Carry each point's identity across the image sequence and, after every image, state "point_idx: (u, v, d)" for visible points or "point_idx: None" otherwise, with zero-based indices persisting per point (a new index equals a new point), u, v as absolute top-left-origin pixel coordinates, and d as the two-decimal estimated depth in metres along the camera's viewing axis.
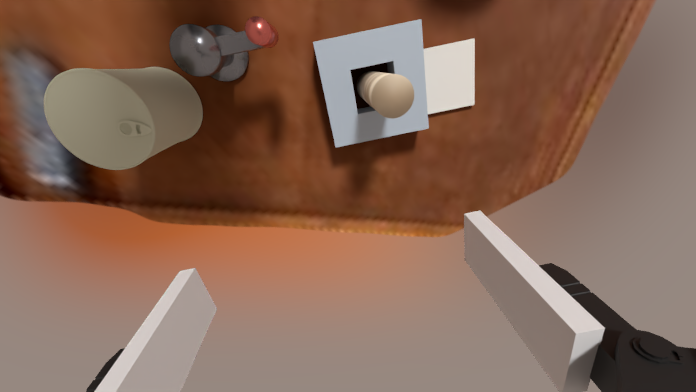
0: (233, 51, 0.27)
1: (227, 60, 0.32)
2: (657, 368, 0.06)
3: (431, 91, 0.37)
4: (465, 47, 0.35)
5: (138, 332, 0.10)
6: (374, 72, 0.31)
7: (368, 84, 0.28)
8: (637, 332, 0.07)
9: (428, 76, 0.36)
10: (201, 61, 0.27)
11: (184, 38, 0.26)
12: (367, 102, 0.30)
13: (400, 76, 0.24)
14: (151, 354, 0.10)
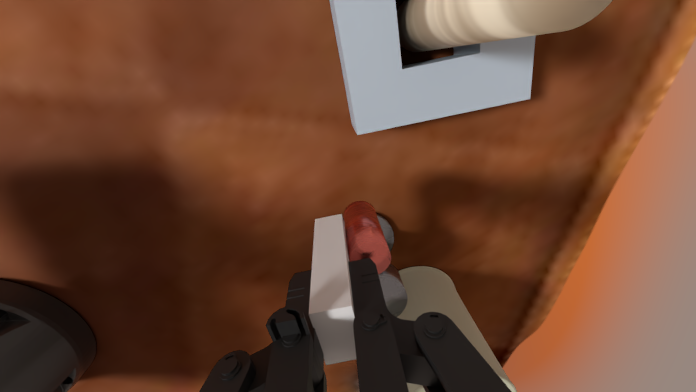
0: None
1: None
2: (374, 334, 0.09)
3: None
4: None
5: (312, 258, 0.12)
6: (417, 18, 0.15)
7: (467, 37, 0.12)
8: (363, 311, 0.09)
9: None
10: (389, 297, 0.20)
11: None
12: None
13: None
14: None
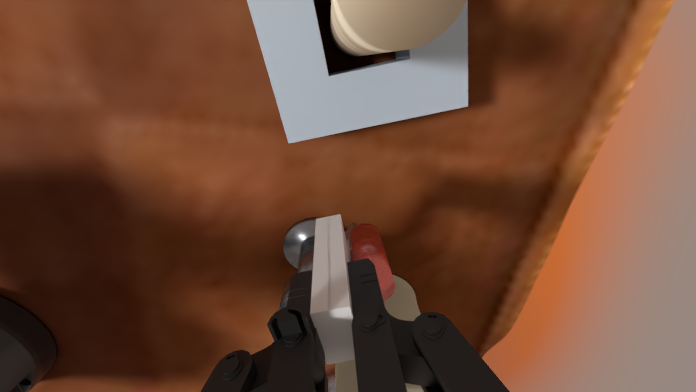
0: None
1: None
2: (372, 334, 0.09)
3: None
4: None
5: (314, 258, 0.12)
6: (331, 24, 0.15)
7: (358, 48, 0.11)
8: (361, 311, 0.09)
9: None
10: None
11: None
12: None
13: None
14: None
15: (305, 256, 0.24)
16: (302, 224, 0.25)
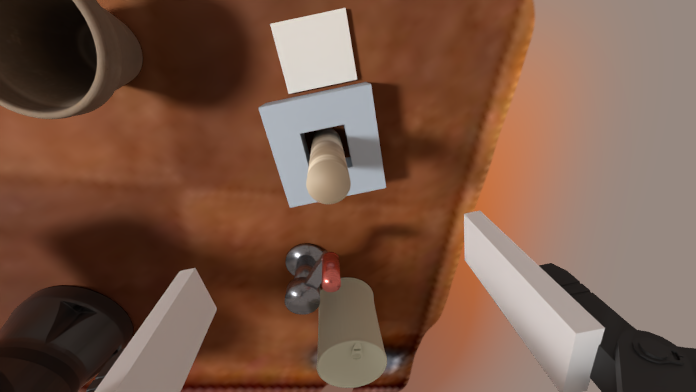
0: (320, 282, 0.35)
1: (309, 264, 0.40)
2: (657, 368, 0.06)
3: (330, 73, 0.32)
4: (281, 34, 0.30)
5: (138, 332, 0.10)
6: None
7: None
8: (637, 332, 0.07)
9: (314, 78, 0.32)
10: (310, 302, 0.36)
11: (292, 300, 0.35)
12: None
13: (308, 179, 0.23)
14: (151, 354, 0.10)
15: (299, 268, 0.39)
16: (297, 248, 0.41)
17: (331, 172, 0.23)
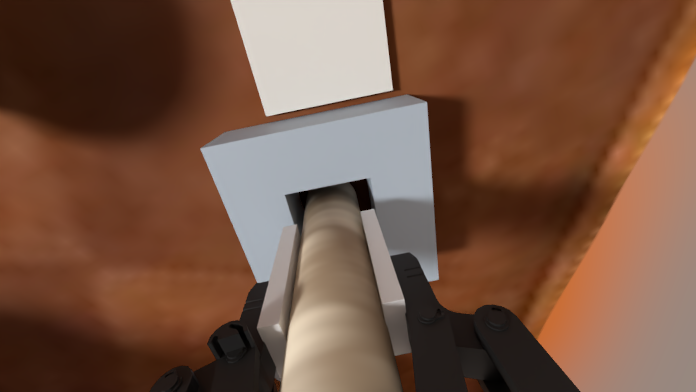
0: None
1: None
2: (430, 327, 0.08)
3: (342, 78, 0.17)
4: (247, 2, 0.15)
5: (273, 268, 0.12)
6: None
7: None
8: (419, 303, 0.09)
9: (313, 88, 0.17)
10: None
11: None
12: None
13: None
14: (290, 283, 0.12)
15: None
16: None
17: None
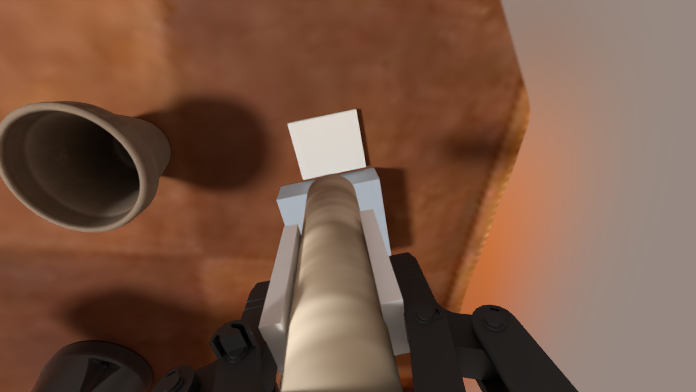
0: None
1: None
2: (429, 327, 0.08)
3: (341, 162, 0.35)
4: (297, 132, 0.33)
5: (274, 268, 0.12)
6: None
7: None
8: (417, 303, 0.09)
9: (326, 167, 0.35)
10: None
11: None
12: None
13: None
14: (291, 283, 0.12)
15: None
16: None
17: (350, 381, 0.08)
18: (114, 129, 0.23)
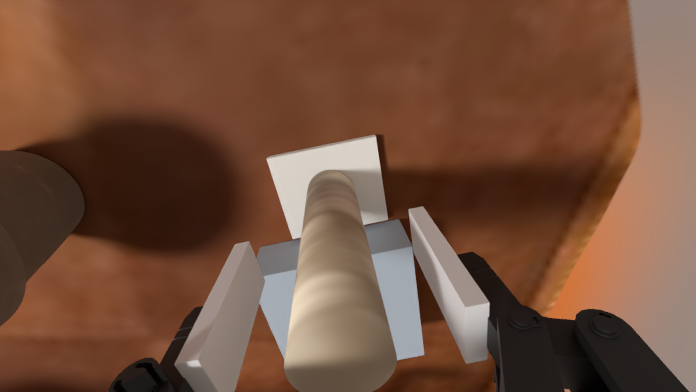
0: None
1: None
2: (524, 334, 0.08)
3: None
4: (282, 171, 0.21)
5: (212, 292, 0.12)
6: None
7: None
8: (510, 306, 0.09)
9: None
10: None
11: None
12: None
13: (288, 359, 0.09)
14: (227, 309, 0.11)
15: None
16: None
17: (349, 343, 0.09)
18: None
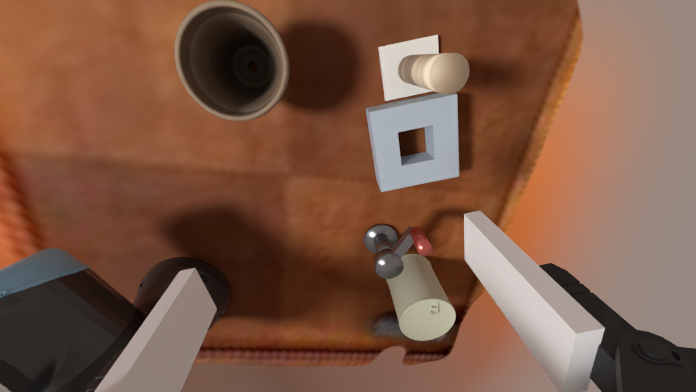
0: (405, 251, 0.43)
1: (387, 240, 0.49)
2: (657, 368, 0.06)
3: None
4: (386, 55, 0.38)
5: (138, 332, 0.10)
6: (408, 74, 0.34)
7: (426, 88, 0.31)
8: (637, 332, 0.07)
9: (407, 89, 0.40)
10: (395, 268, 0.44)
11: (381, 267, 0.44)
12: None
13: (434, 68, 0.26)
14: (151, 354, 0.10)
15: (380, 243, 0.48)
16: (375, 227, 0.50)
17: (455, 62, 0.26)
18: (271, 25, 0.28)
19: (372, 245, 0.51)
